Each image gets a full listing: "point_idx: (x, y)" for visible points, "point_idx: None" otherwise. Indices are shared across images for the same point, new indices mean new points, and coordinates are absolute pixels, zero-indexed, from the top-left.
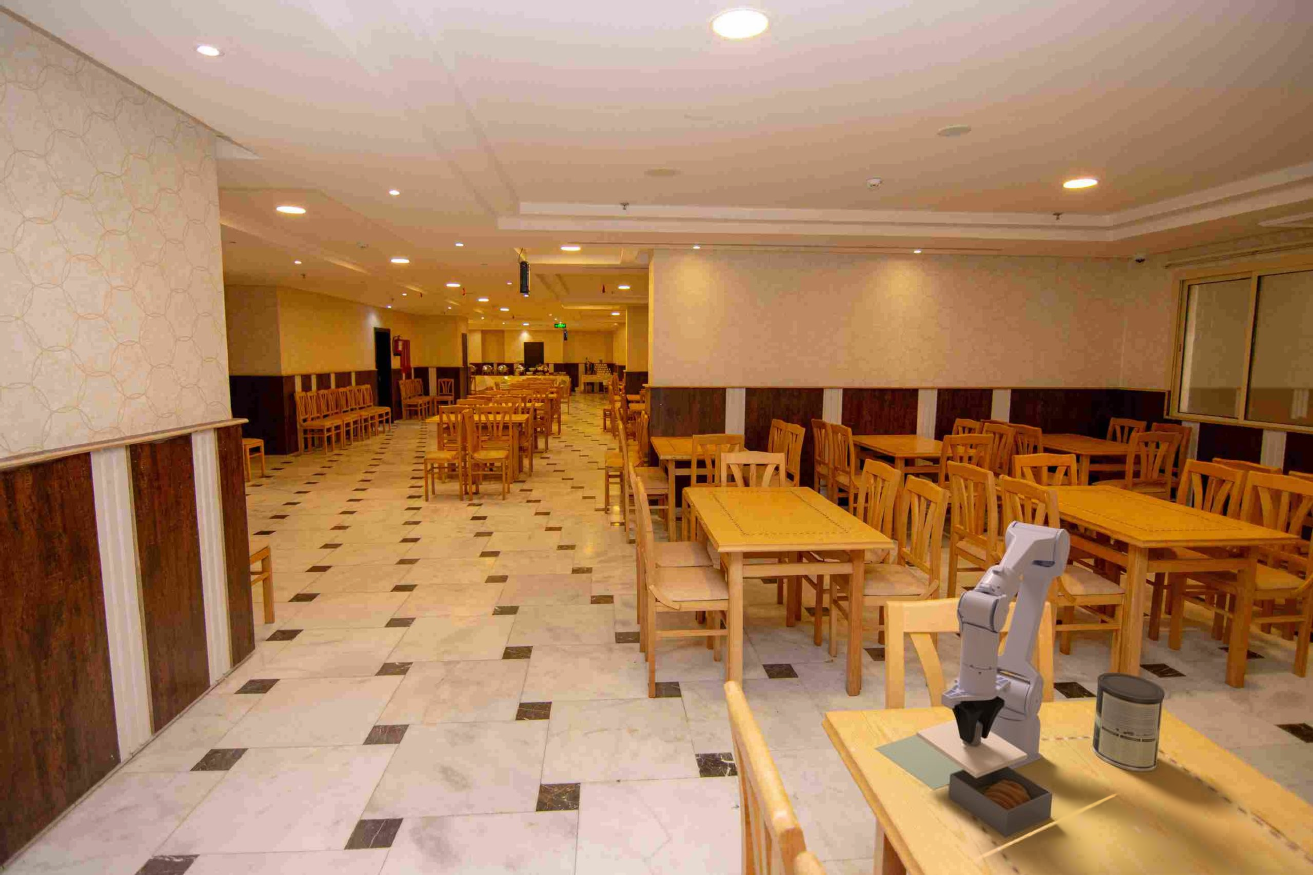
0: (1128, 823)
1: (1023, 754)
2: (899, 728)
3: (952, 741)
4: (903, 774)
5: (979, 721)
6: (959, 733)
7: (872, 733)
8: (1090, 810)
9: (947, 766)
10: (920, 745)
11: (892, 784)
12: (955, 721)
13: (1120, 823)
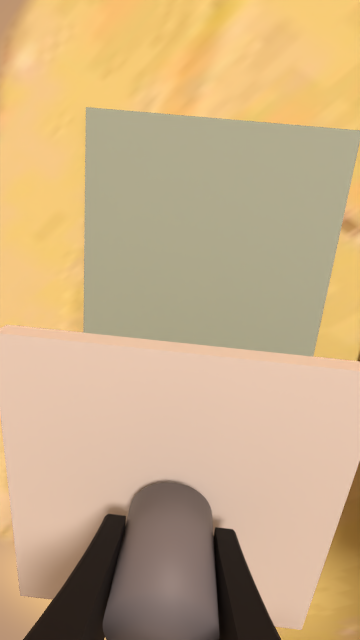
0: (355, 618)
1: (288, 623)
2: (297, 44)
3: (100, 464)
4: (73, 264)
5: (224, 637)
6: (97, 533)
7: (171, 9)
8: (339, 570)
9: (213, 316)
10: (246, 188)
11: (9, 279)
12: (277, 378)
13: (342, 611)
